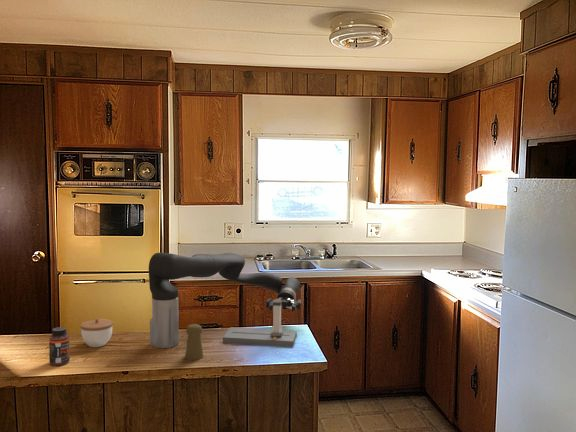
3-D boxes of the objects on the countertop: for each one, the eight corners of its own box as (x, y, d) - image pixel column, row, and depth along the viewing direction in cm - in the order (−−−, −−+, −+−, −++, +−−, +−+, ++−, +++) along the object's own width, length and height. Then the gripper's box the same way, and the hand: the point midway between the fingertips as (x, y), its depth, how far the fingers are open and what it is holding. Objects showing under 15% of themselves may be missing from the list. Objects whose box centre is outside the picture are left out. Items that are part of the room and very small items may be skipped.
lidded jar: (114, 338, 179) (113, 313, 178) (111, 348, 169) (111, 322, 168) (83, 340, 176) (82, 315, 175) (78, 350, 166) (78, 324, 165)
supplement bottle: (62, 367, 152) (62, 332, 151) (45, 365, 152) (44, 331, 151) (73, 360, 157) (72, 326, 157) (56, 358, 158) (55, 325, 157)
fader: (270, 335, 177) (271, 302, 176) (272, 331, 182) (273, 298, 181) (281, 336, 177) (281, 302, 176) (283, 332, 182) (283, 299, 181)
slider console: (222, 342, 176) (222, 336, 176) (230, 332, 188) (230, 326, 188) (293, 346, 173) (293, 340, 173) (296, 335, 185) (296, 330, 185)
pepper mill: (199, 361, 158) (199, 328, 157) (182, 359, 160) (182, 327, 159) (206, 354, 164) (206, 323, 163) (189, 352, 165) (189, 321, 165)
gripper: (270, 288, 206) (264, 298, 190) (303, 290, 205) (299, 300, 189) (270, 305, 207) (264, 316, 191) (302, 307, 205) (299, 318, 189)
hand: (281, 308), depth 190 cm, fingers open, 8 cm apart
